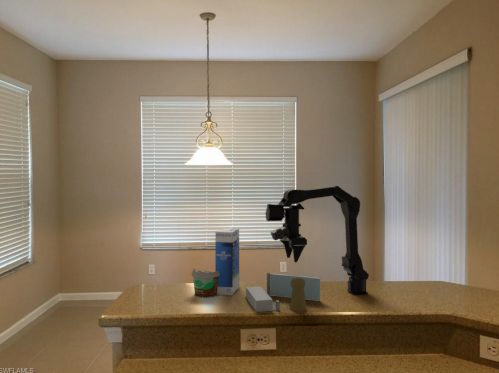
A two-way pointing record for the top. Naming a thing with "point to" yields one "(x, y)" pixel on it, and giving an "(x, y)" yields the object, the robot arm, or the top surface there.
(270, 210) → the robot arm
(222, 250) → the string lights box
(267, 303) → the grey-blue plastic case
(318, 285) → the cover
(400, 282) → the top surface
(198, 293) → the food container
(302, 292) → the beige waisted cylinder
